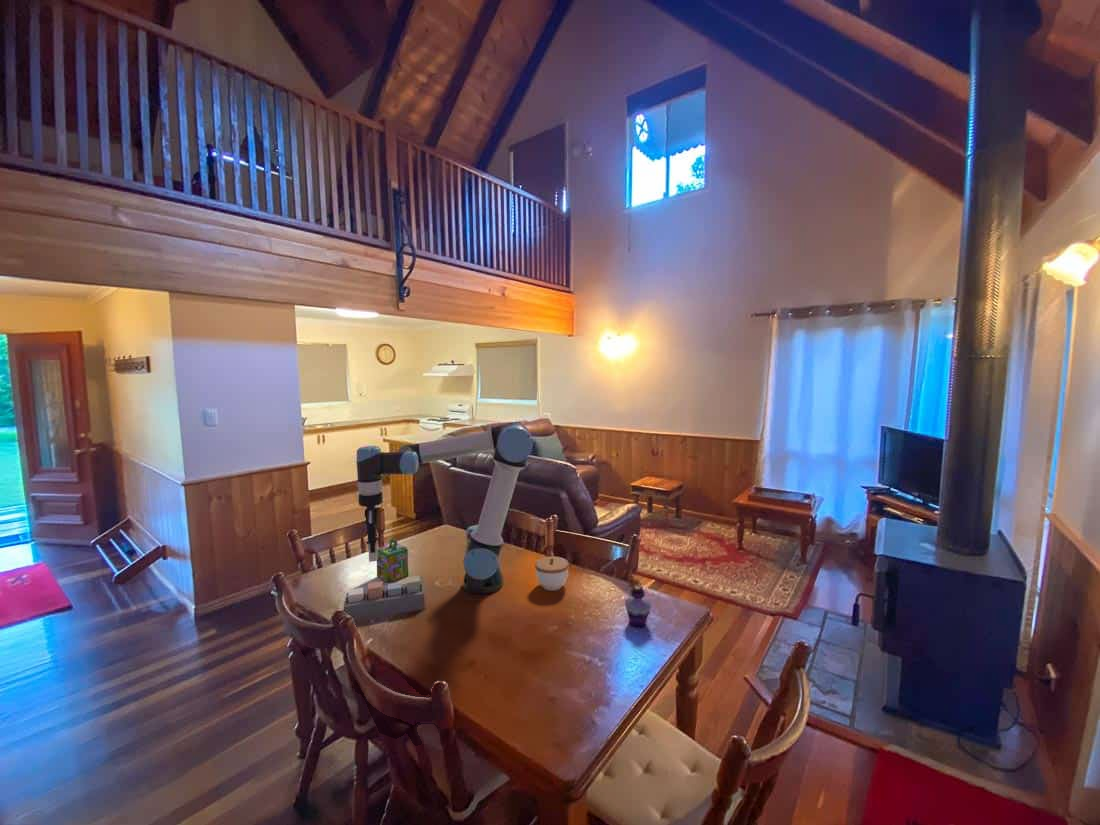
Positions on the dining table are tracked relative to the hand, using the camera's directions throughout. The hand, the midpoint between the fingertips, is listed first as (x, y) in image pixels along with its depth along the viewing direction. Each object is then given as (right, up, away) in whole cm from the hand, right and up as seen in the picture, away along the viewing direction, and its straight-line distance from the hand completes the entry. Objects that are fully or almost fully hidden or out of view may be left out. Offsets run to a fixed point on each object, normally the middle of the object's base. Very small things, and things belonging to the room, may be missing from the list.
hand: (373, 560), depth 155 cm
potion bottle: (+88, -18, -9) cm, 90 cm away
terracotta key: (0, -14, +1) cm, 14 cm away
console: (+3, -18, +3) cm, 18 cm away
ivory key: (-6, -16, 0) cm, 17 cm away
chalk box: (-3, -16, +28) cm, 32 cm away
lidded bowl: (+61, -16, +17) cm, 65 cm away
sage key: (+12, -14, +5) cm, 19 cm away
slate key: (+6, -15, +3) cm, 17 cm away
